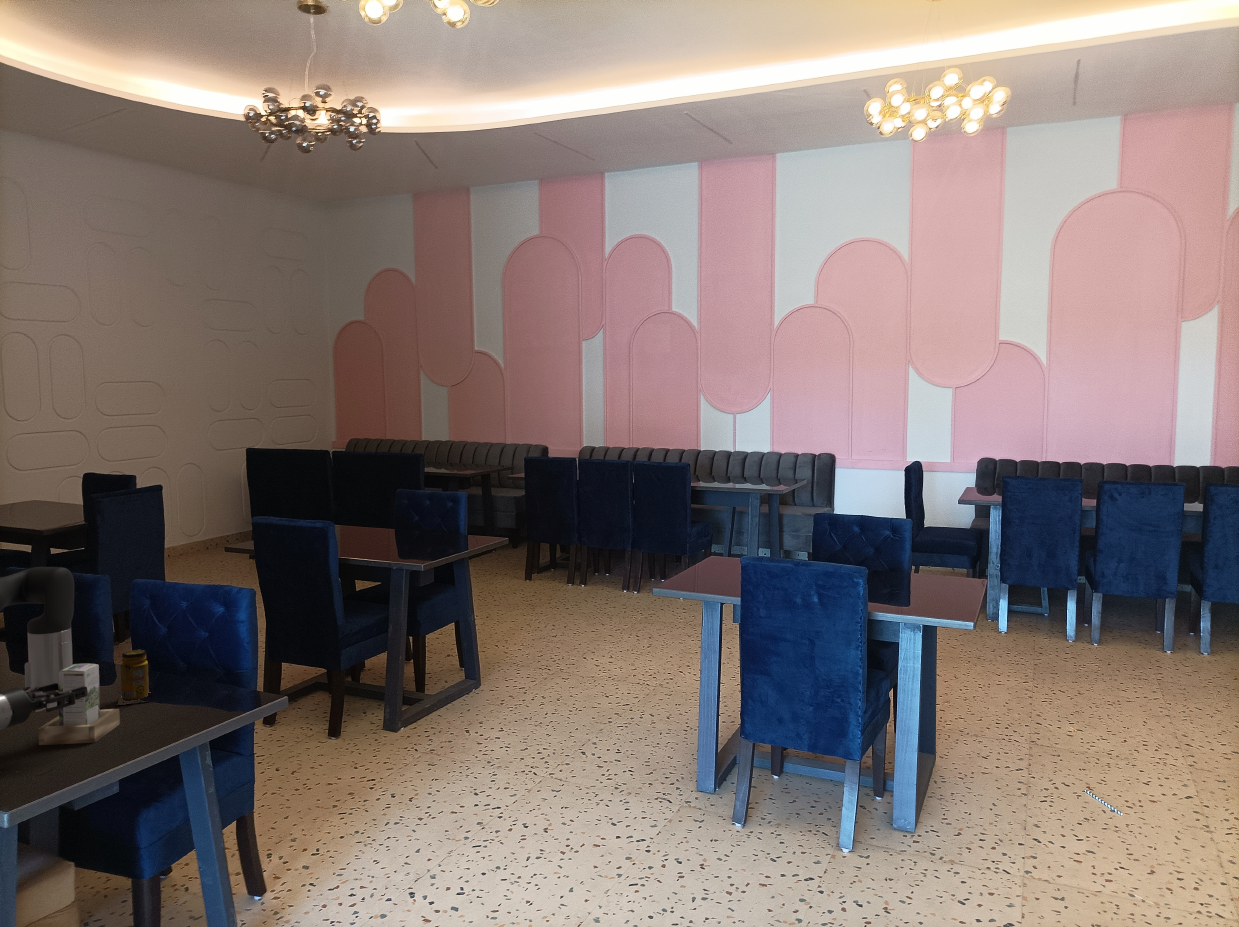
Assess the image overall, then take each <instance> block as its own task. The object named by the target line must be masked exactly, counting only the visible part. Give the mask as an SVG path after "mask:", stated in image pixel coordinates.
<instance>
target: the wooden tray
mask: <svg viewBox="0 0 1239 927" xmlns="http://www.w3.org/2000/svg"><path fill="white" fill-rule="evenodd" d="M99 715H100V719H99V720H97V721H96V722H94V723H93V724H91V725H69V726H59V715H57V716H56V717H55V718H53V719H51V720H50V721H48V722H46V723H45V724H43V725H42V726H40V727H39V728H38V729H37V732H38V733H37V734H38V745H39V746H47V745H48V746H49V745H65V744H66V745H68V744H70V745H71V744H92V743H96V742H97V741H99V740H100V739H102V738H104V737H105V736H106V735H107V734H108V733H110V732H111V731H113V730H114V729H115V728H117V727H118V726H119V725H121V721H120V715H121V714H120V708H109V709H108V708H107V709H106V708H104V709H99Z"/></svg>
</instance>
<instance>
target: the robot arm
mask: <svg viewBox="0 0 1239 927" xmlns="http://www.w3.org/2000/svg"><path fill="white" fill-rule="evenodd" d="M23 604H38V605H40V604H41V605H42V604H43V605H44V608H43V613H42V614H41V615H40V616H37V617H34V618H31V619H30V620H29V621H28V622H27V627H26V628H27V651H28V652H27V653H28V661H27V662H25V663H24V681H25V683H24V684H25V685H24V686H25V687H22V688H21V687H17V686H16V687H11V688H8V689H4V690H1V691H0V731H1V730H4V729H7V728H12V727H14V726H17V725H20V724H23V723H25V722H26V721H27V720H28V719H29V717H30V716H31V713H32V712H33V713H37V712H42V711H44V710H45V712H46V713H50V712H54V711H58V710H59V709H61V708H64V707H67V706H71V705H74V704H75V700H76V699H80V698H83V697H86V696H87V687H84V686H83V687H79V688H76V689H73V690H68V691H63V692H59V671H61V670H63V669H65V668H67V667H70V666H72V665H74V664H73V643H72V640H73V638H72V620H73V617H74V613H75V579H74V576H73V573H72V572H71V571H70V569H68V568H66V567H62V566H35V567H30V568H27V569H24V570H20V571H18V572H15V573H13V574H9V575H6V576H5V575H4V576H1V577H0V612H1V611H2V610H4V608H6V607H9V606H16V605H23Z"/></svg>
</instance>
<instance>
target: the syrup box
mask: <svg viewBox="0 0 1239 927" xmlns="http://www.w3.org/2000/svg"><path fill="white" fill-rule="evenodd" d="M99 668H100V666H99V664H96V663H74V664H73V665H72V666H70V667H67V668H65V669H63V670H61V671H59V692H63V691H68V690H73V689H76V688H79V687H83V686H84V687H87V696H86V697H83V698H80V699H76V700H75V704H74V705H71V706H67V707H64V708H61V709H58V716H59V726H69V725H91V724H93V723H94V722H96V721H97V720H99V719H100V715H99V710H100V670H99Z"/></svg>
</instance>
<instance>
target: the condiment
mask: <svg viewBox="0 0 1239 927" xmlns="http://www.w3.org/2000/svg"><path fill="white" fill-rule="evenodd" d="M121 657H122V659H121V661H122V663H121V665H120V692H121V693H120V694H121V695H120V696H121V697H122V699H123V700H125V701H131V700H138V699H142V698H144V697H147V696H148V693H150V689H149V688H150V687H149V684H150V682H149V662H148V660H147V652H146V650H144V649H133V650H127V651H124V652H123V653H122V655H121Z"/></svg>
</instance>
